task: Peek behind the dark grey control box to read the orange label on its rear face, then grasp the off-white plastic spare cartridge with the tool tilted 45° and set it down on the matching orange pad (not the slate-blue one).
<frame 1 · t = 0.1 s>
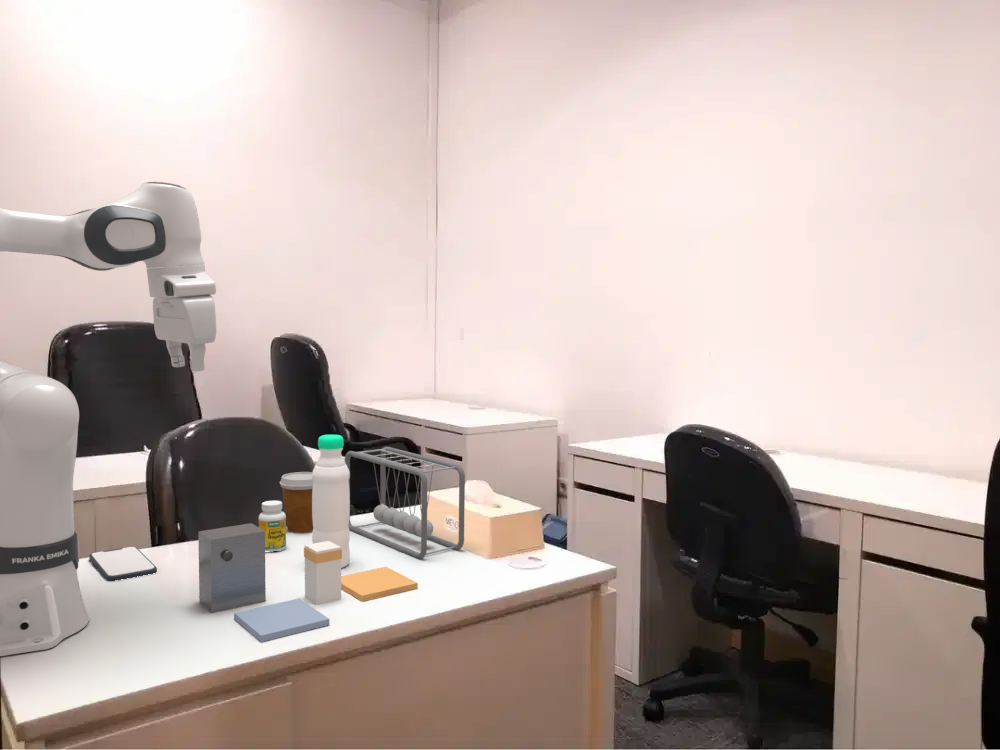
hand: (188, 368, 135), 39 cm above the table, tool pointing down, fingers open, 8 cm apart
spare cartridge: (322, 597, 139), on the table
control box: (232, 601, 137), on the table
supplement bottle: (272, 550, 166), on the table
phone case: (122, 569, 154), on the table
blue pad: (281, 622, 129), on the table
newton's cradle: (401, 540, 174), on the table
orange pad: (374, 585, 146), on the table
water bottle: (331, 566, 157), on the table
disposable coffee cup: (302, 530, 181), on the table
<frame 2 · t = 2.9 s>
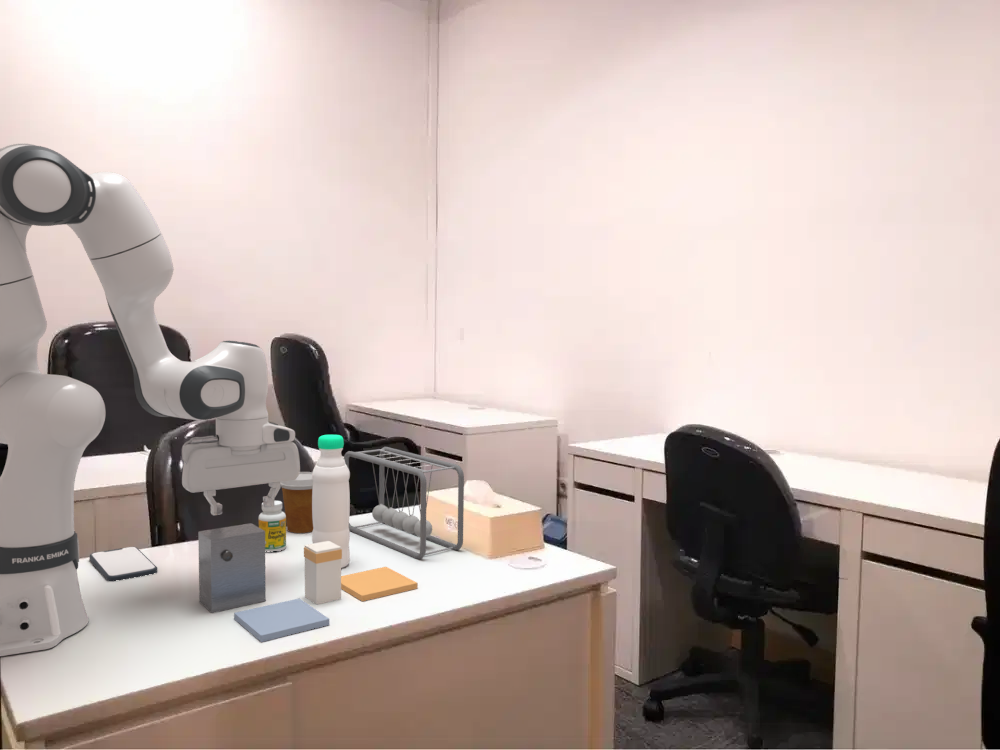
hand: (243, 510, 145), 13 cm above the table, tool pointing down, fingers open, 8 cm apart
nothing on the table moved.
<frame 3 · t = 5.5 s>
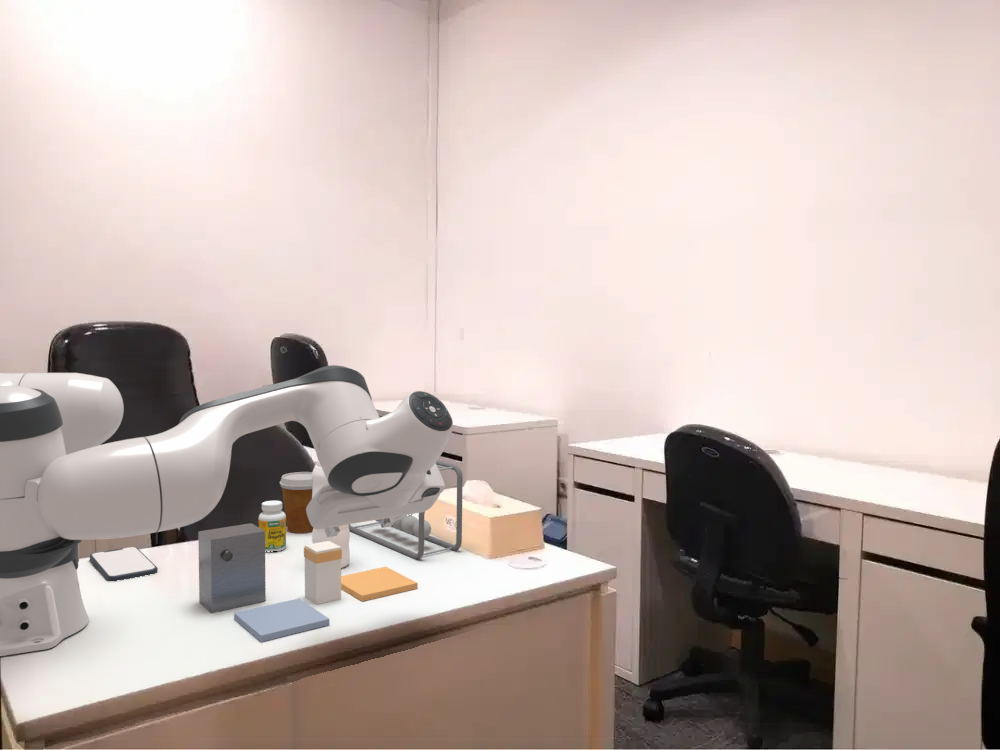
hand: (357, 528, 128), 15 cm above the table, tool tilted 45°, fingers open, 8 cm apart
nothing on the table moved.
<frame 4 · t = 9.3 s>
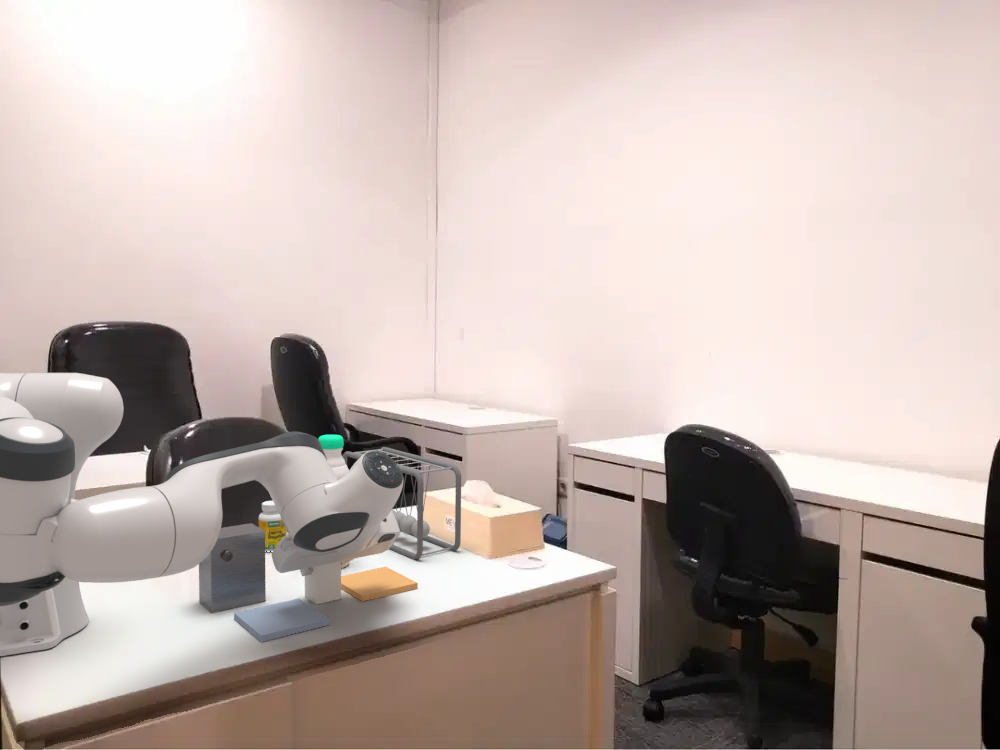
hand: (321, 568, 139), 5 cm above the table, tool tilted 45°, fingers closed on spare cartridge, 4 cm apart
spare cartridge: (322, 597, 139), on the table, touching gripper
everything else where it was.
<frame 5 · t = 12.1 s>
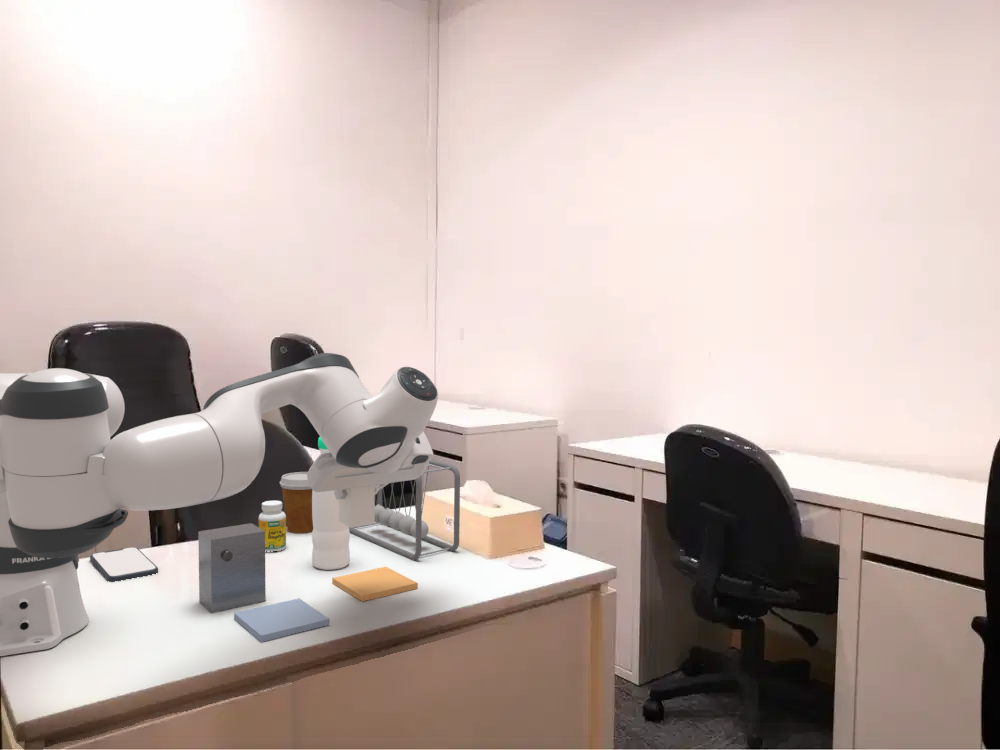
hand: (354, 493, 140), 17 cm above the table, tool tilted 45°, fingers closed on spare cartridge, 4 cm apart
spare cartridge: (356, 522, 140), point 13 cm above the table, touching gripper
when the fingers open (7 cm above the table, at t = 14.8 s): spare cartridge drops 1 cm, resting on orange pad.
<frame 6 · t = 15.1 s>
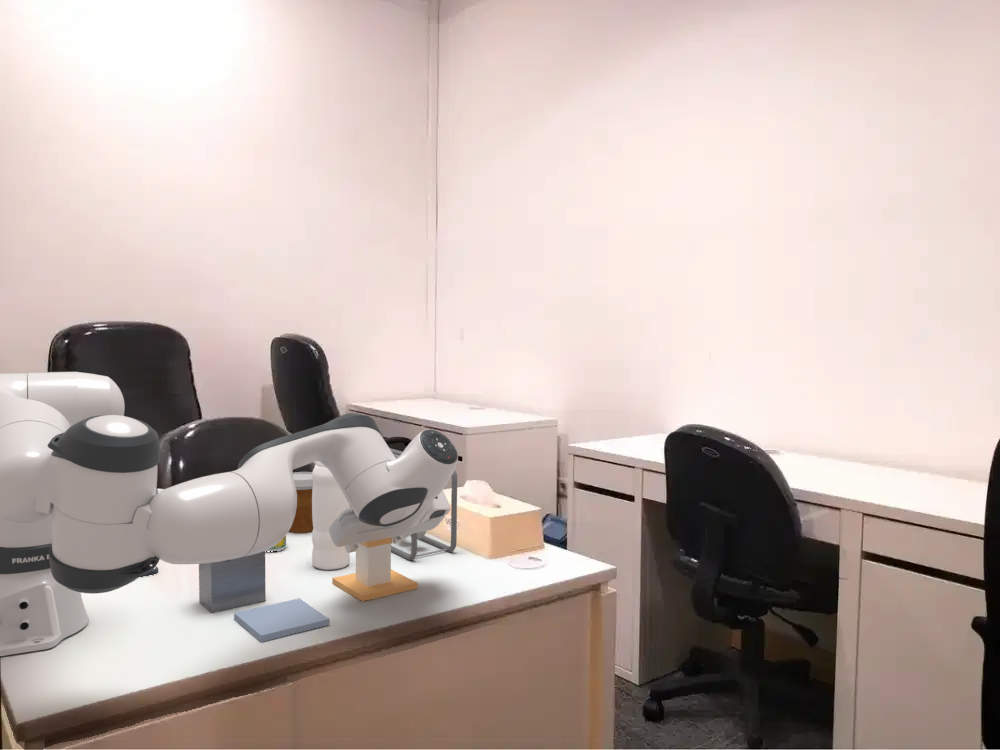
hand: (372, 544, 145), 7 cm above the table, tool tilted 45°, fingers open, 8 cm apart
spare cartridge: (373, 580, 145), point 1 cm above the table, touching orange pad
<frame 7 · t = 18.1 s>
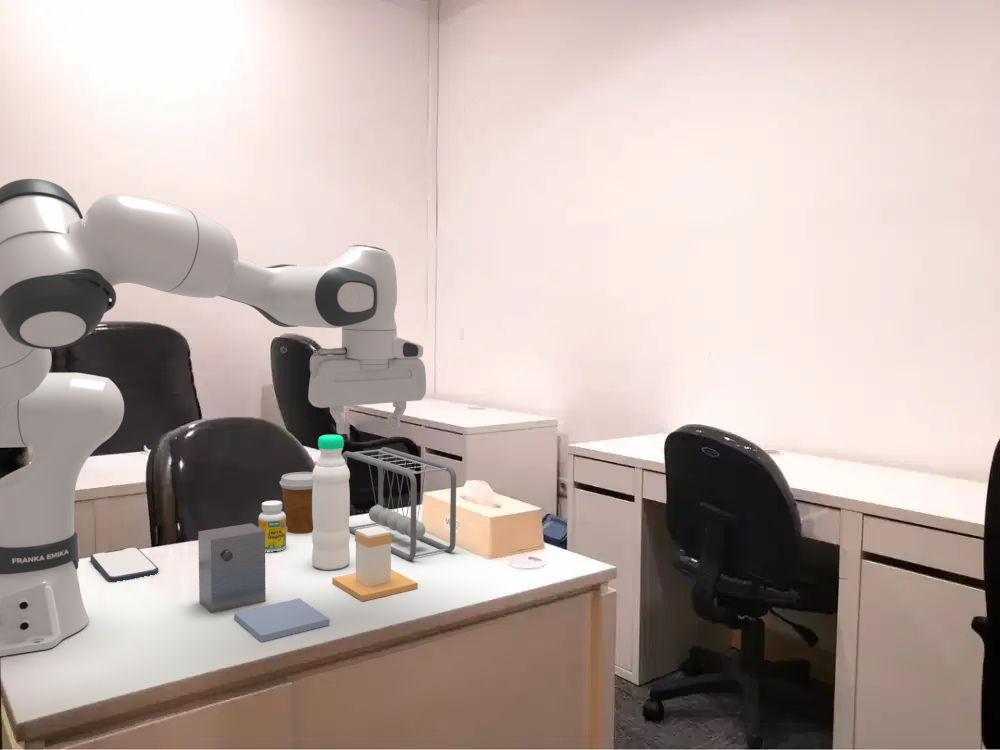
hand: (368, 431, 135), 29 cm above the table, tool pointing down, fingers open, 8 cm apart
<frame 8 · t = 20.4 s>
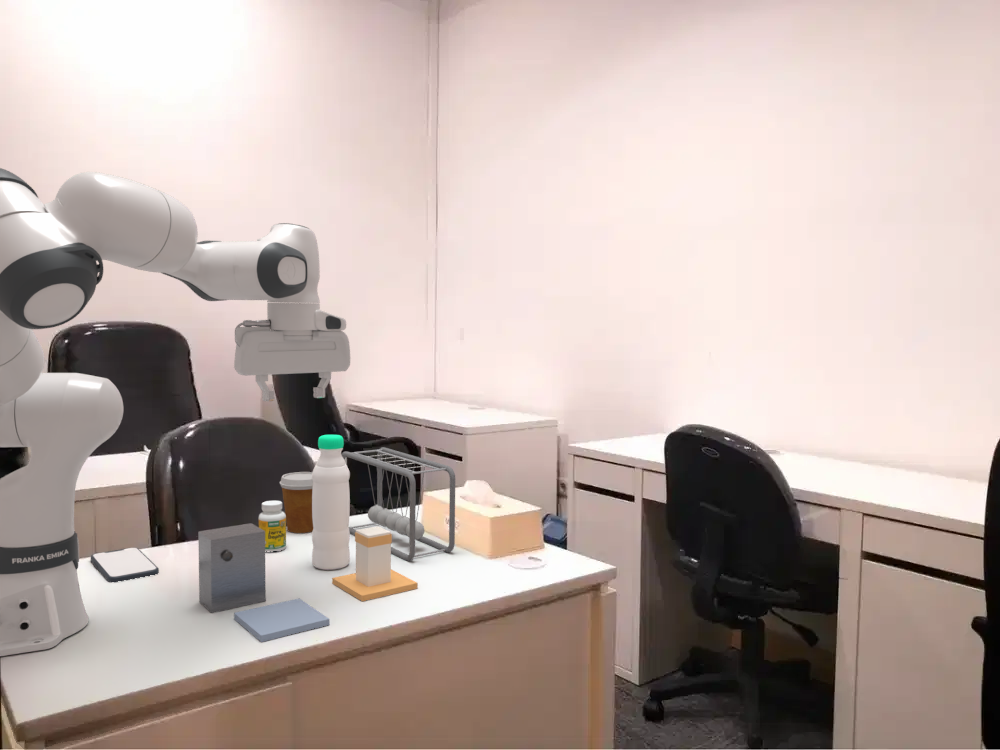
hand: (294, 399, 143), 33 cm above the table, tool pointing down, fingers open, 8 cm apart
at the end: spare cartridge inside the target area on the orange pad (0.3 cm from its centre), point 1.0 cm above the orange pad's base; spare cartridge tilted 0°; the gripper is holding nothing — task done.
